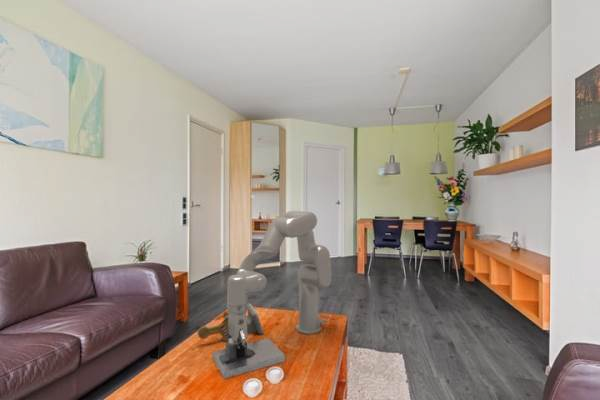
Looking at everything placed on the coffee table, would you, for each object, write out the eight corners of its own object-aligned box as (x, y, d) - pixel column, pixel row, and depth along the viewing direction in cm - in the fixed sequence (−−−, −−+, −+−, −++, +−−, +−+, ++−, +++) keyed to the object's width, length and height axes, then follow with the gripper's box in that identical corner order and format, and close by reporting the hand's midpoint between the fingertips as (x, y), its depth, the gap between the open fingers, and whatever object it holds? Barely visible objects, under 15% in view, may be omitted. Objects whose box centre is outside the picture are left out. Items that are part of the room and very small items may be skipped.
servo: (248, 356, 119) (249, 332, 119) (253, 361, 115) (253, 337, 115) (219, 364, 113) (219, 339, 113) (222, 370, 109) (222, 344, 109)
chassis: (268, 344, 129) (268, 338, 129) (284, 361, 116) (284, 354, 116) (212, 357, 117) (213, 351, 117) (224, 378, 104) (224, 371, 104)
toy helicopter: (247, 339, 133) (247, 309, 134) (200, 351, 122) (200, 318, 123) (240, 332, 140) (241, 304, 140) (195, 343, 129) (196, 312, 130)
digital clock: (263, 335, 138) (264, 313, 138) (244, 337, 136) (244, 314, 136) (262, 322, 154) (262, 301, 154) (244, 323, 152) (244, 302, 152)
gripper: (254, 313, 109) (253, 359, 108) (239, 299, 124) (238, 340, 123) (234, 316, 105) (233, 365, 105) (221, 302, 120) (220, 344, 120)
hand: (236, 351), depth 114 cm, fingers open, 9 cm apart
